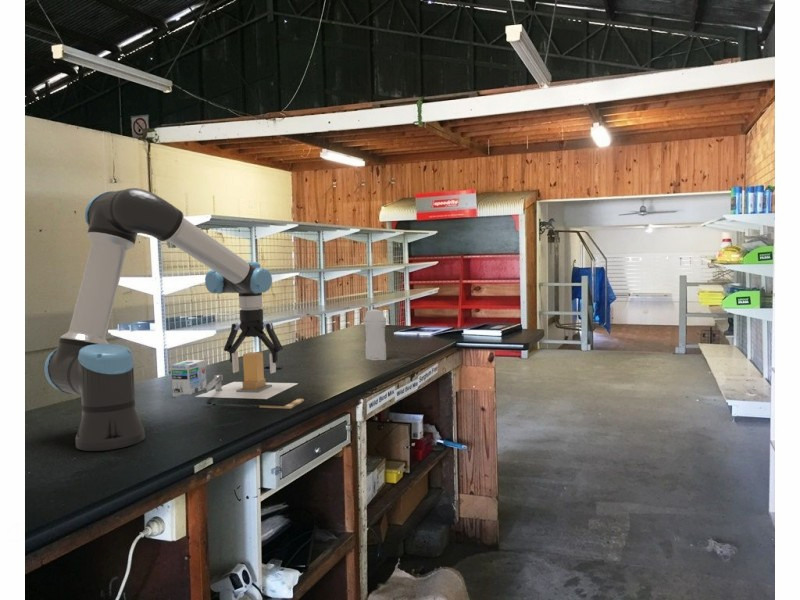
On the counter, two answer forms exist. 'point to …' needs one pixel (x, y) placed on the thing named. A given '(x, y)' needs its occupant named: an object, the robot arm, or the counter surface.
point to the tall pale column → (375, 335)
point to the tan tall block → (253, 371)
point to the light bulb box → (188, 377)
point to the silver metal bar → (212, 383)
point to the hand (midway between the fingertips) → (254, 372)
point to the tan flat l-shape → (288, 405)
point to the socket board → (237, 390)
